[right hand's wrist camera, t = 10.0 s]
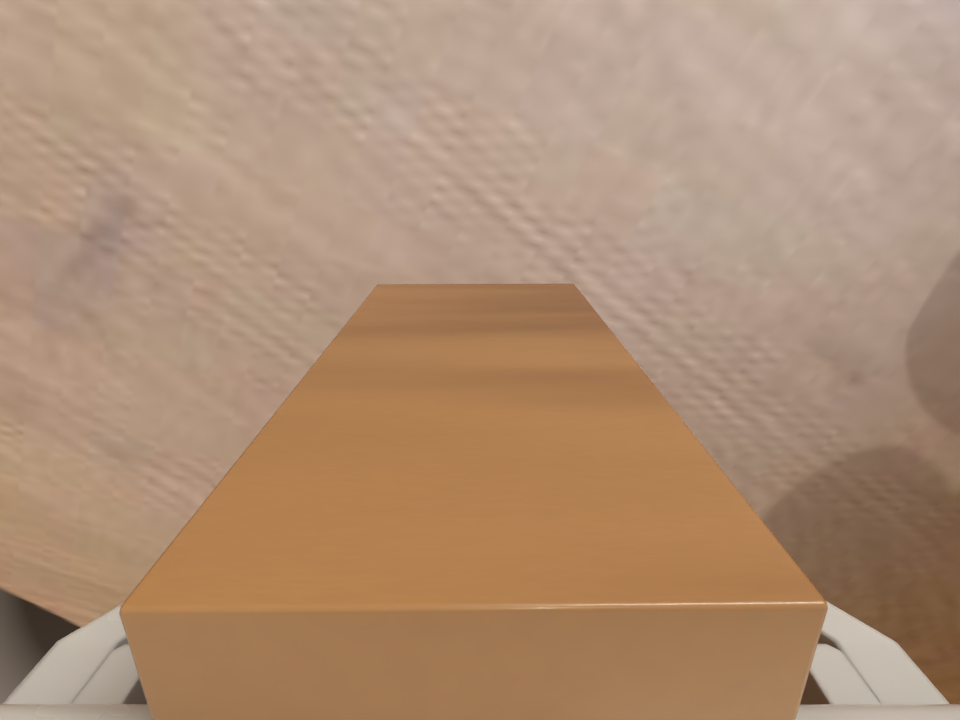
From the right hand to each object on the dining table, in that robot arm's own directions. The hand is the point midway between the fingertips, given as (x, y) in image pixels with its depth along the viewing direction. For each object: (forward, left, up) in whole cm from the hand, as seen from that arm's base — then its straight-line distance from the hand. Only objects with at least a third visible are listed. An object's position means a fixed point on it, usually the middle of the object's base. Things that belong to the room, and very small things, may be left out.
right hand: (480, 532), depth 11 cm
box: (-2, +9, -7) cm, 12 cm away
